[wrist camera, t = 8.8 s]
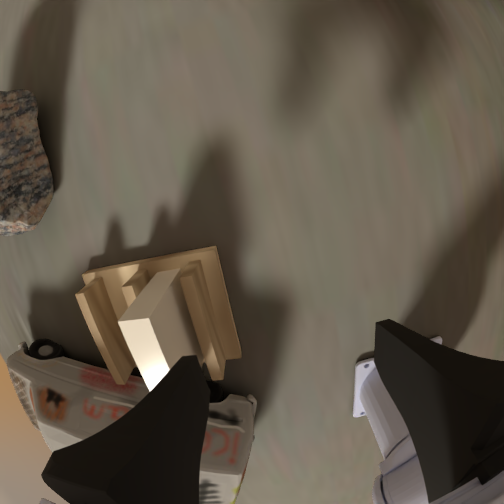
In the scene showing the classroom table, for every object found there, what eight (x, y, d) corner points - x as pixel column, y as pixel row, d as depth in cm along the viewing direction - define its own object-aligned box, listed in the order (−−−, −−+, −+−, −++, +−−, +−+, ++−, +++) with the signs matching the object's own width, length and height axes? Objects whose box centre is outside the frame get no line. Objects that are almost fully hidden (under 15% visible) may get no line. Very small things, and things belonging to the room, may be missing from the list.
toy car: (28, 329, 23) (-25, 381, 13) (258, 380, 24) (262, 474, 14) (51, 397, 26) (17, 449, 16) (244, 444, 27) (244, 518, 17)
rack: (216, 245, 20) (208, 264, 16) (241, 350, 22) (240, 383, 19) (87, 270, 20) (61, 289, 17) (124, 361, 23) (108, 388, 19)
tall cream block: (180, 268, 19) (149, 318, 13) (205, 350, 21) (191, 416, 15) (157, 272, 19) (117, 321, 13) (184, 353, 21) (164, 416, 15)
